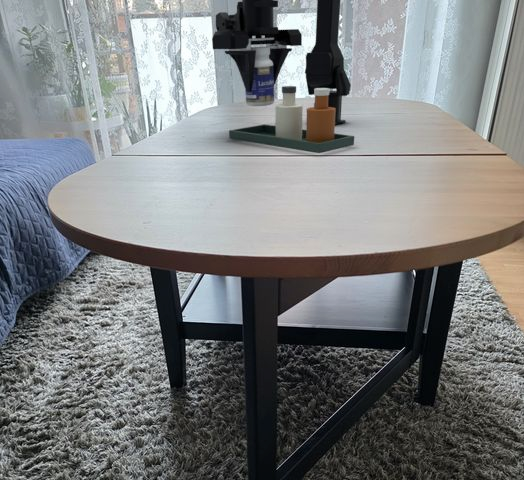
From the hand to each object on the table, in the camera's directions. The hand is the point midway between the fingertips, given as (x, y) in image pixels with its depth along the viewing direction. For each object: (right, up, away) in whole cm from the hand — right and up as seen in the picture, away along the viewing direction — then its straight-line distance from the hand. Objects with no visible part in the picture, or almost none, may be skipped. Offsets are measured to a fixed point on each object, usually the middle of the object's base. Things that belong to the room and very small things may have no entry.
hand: (259, 90), depth 101 cm
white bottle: (+6, -10, 0) cm, 12 cm away
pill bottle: (0, -2, +2) cm, 3 cm away
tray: (+6, -11, 0) cm, 12 cm away
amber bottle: (+11, -13, -5) cm, 18 cm away
